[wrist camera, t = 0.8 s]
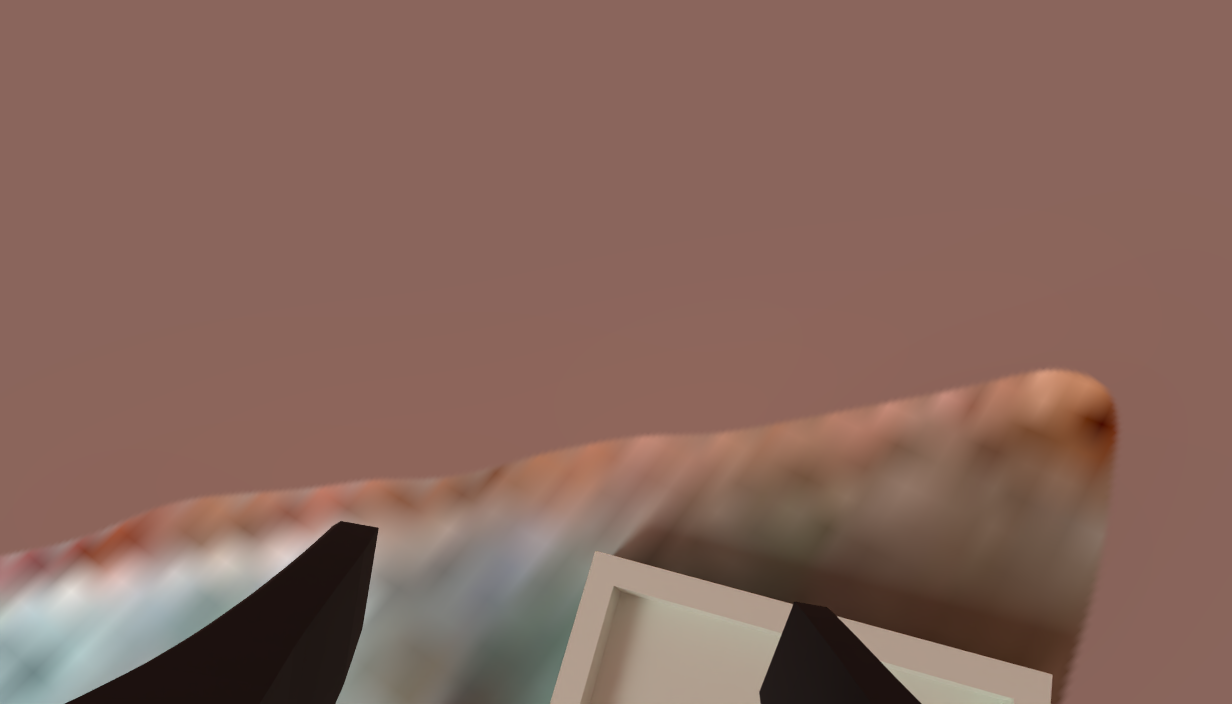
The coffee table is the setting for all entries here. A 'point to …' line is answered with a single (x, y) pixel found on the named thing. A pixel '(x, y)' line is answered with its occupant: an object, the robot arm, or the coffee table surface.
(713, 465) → the coffee table surface
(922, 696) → the tray
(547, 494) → the coffee table surface
